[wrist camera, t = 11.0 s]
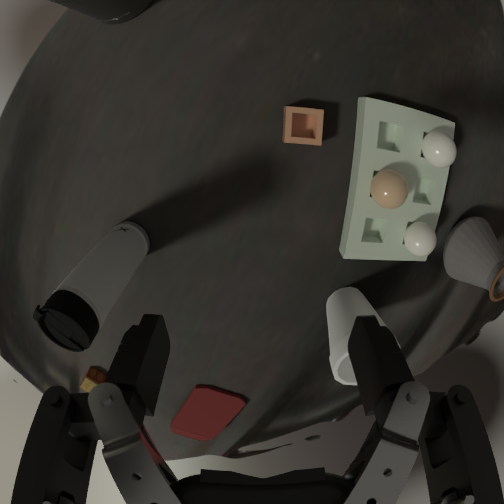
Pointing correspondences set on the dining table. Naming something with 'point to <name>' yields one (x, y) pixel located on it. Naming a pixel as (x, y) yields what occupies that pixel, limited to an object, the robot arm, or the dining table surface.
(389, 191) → the brown egg
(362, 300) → the foam cup
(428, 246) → the white egg
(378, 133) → the egg tray
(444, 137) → the white egg
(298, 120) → the egg cup
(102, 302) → the travel mug
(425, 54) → the dining table surface
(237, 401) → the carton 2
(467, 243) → the coffee pot
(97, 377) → the carton
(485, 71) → the dining table surface
